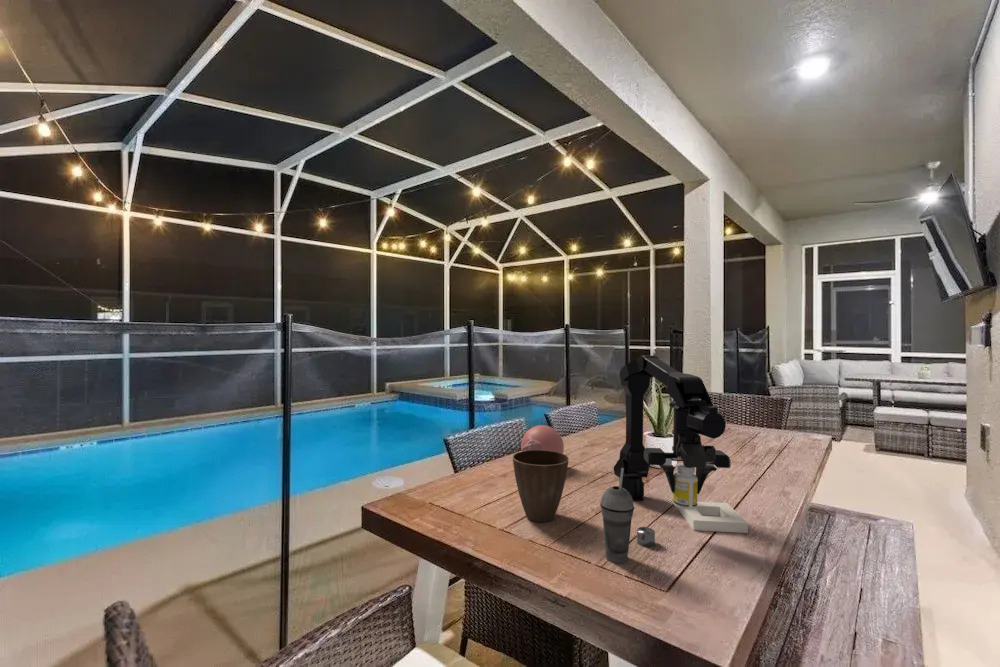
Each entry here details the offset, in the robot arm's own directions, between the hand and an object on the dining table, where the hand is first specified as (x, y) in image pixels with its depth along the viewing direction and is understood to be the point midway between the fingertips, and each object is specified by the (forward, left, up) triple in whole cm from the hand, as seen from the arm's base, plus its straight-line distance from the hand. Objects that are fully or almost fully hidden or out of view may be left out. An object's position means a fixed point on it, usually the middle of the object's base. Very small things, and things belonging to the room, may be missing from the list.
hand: (685, 492), depth 108 cm
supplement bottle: (0, 0, -3) cm, 3 cm away
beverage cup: (-18, -12, -11) cm, 24 cm away
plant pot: (-35, +8, -11) cm, 38 cm away
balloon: (-36, +49, -11) cm, 62 cm away
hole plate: (+10, +11, -11) cm, 18 cm away
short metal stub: (-10, -4, -11) cm, 15 cm away
